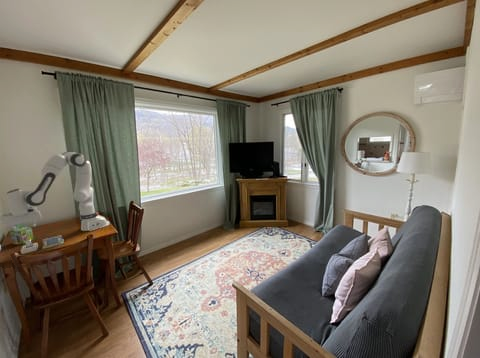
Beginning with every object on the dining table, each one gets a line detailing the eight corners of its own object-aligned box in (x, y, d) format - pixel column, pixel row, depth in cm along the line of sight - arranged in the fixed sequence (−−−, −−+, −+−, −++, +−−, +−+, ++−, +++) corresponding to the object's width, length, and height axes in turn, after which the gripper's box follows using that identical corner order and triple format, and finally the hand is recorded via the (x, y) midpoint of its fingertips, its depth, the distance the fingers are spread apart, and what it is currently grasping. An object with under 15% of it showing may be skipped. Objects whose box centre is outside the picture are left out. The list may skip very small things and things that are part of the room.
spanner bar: (62, 240, 168) (61, 235, 167) (62, 241, 166) (61, 236, 165) (44, 244, 162) (43, 239, 161) (43, 246, 159) (42, 240, 158)
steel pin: (33, 248, 158) (31, 238, 157) (32, 250, 156) (30, 240, 154) (28, 249, 157) (25, 240, 155) (27, 251, 154) (24, 241, 153)
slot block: (38, 246, 162) (37, 242, 161) (36, 250, 155) (35, 246, 155) (24, 249, 157) (23, 245, 156) (21, 254, 151) (20, 250, 150)
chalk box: (23, 244, 165) (18, 227, 162) (12, 244, 165) (7, 227, 162) (34, 239, 174) (30, 222, 171) (24, 239, 174) (20, 222, 171)
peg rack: (63, 240, 170) (62, 234, 169) (63, 243, 164) (61, 238, 163) (44, 244, 163) (42, 239, 162) (42, 248, 157) (41, 242, 156)
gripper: (-3, 216, 142) (4, 234, 145) (38, 208, 153) (43, 225, 157) (0, 214, 147) (6, 231, 150) (39, 206, 158) (44, 222, 161)
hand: (25, 228), depth 153 cm, fingers open, 8 cm apart
